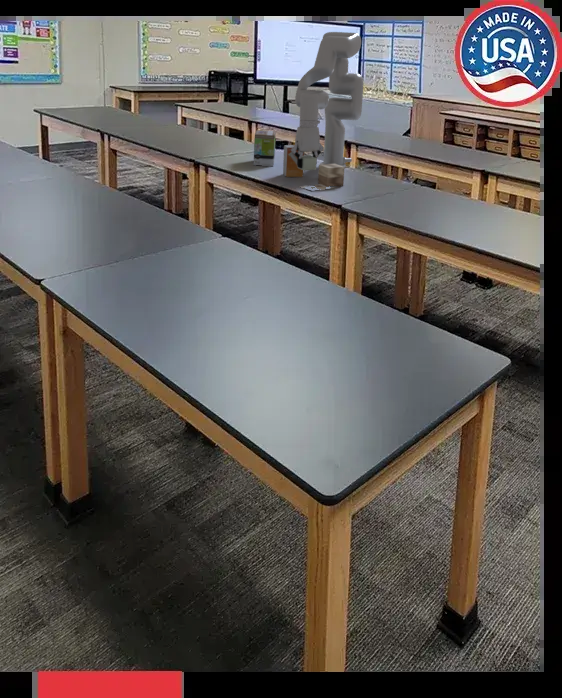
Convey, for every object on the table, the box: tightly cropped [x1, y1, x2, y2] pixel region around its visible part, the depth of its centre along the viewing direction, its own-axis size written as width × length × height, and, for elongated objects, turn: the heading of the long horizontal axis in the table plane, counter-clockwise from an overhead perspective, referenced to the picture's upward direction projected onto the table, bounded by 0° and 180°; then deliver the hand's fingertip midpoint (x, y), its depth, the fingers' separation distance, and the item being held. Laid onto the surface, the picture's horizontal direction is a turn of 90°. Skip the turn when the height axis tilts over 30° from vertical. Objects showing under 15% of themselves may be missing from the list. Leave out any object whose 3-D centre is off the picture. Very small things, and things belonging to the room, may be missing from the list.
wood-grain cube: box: [317, 164, 346, 187], centre depth 290 cm, size 8×8×8 cm
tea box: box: [253, 129, 277, 167], centre depth 329 cm, size 15×10×15 cm, turn 179°
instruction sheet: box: [300, 184, 327, 191], centre depth 285 cm, size 12×9×1 cm
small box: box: [282, 144, 305, 178], centre depth 304 cm, size 8×6×13 cm
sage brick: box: [298, 154, 318, 172], centre depth 292 cm, size 6×6×5 cm
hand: (306, 166), depth 293 cm, fingers closed on sage brick, 6 cm apart
